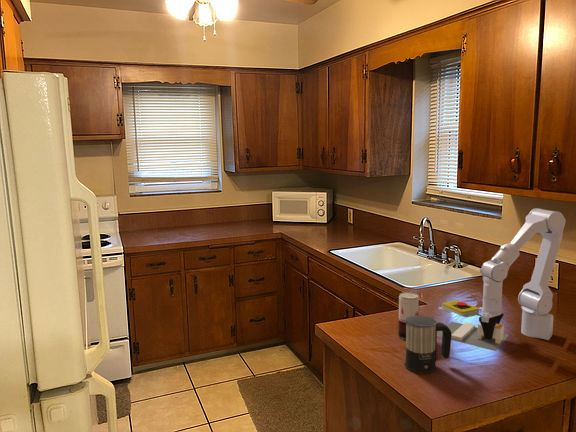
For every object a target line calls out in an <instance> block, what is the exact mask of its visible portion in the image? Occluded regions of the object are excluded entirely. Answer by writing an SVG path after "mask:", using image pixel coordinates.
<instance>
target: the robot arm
mask: <svg viewBox="0 0 576 432" xmlns="http://www.w3.org/2000/svg"><path fill="white" fill-rule="evenodd" d="M566 222H567V220H566V218H565V217H564V215H563V214H562V212H560V211H556V210H555V211H554V210H547V209H543V208H538V207H536V208H533V209H531V210H530V212H529V213H528V214H527V215H526V216H525V222H524V224H523V225H522V226H521V228H520V229H519V230H518V231H517V233H516V235H515V236H514V237H513V239H512V240H511V241H510V242H509V243H505V244H503V245H501V246H500V247H499V249H498V251H497V252H496V253H495V254H494V255H493V256H492V258H491V259H490V260H488V261H485V262H483V264H481V265H482V266H481V268H480V269H479V272H480V274H481V276H482V281H483V288H482V289H483V291H482V292H483V293H482V306H480V307H478V308H479V312H481V313H482V314H481V315H482V316H479V317H478V322H479V323H481V325H482V328H483V333H484V337H485V338H486V339H490V340H491V339H492V337H493V332H494V328H495V325H496V324H500V323H501V321H502V319H503V317H504V313H503V311H502V305H503V304H502V302H503V299H502V298H503V281H504V280H505V279H507V277H508V273H509V272H508V271H509V270H510V267H511V265H513V263H514V262H515V261H516V260H517V259H518V257H520V255H521V254H520V250H521V249H522V248H523V247H524V246H525V245H526V244H527V242H528V241H530V240H531V239H532V238H533V236H535V235H536V234H540V235H541V237H542V240H541V244H540V248H539V251H538V254H537V257H536V261H535V263H534V265H535V266H534V268H533V271H532V274H531V279H530V281H529V282H526V283H525V284H523V286H522V289H521V291H519V294H518V297H517V302H518V304H519V305H520V309H521V310H522V313H521V329H520V333H521V334H523V335H524V336H526V337H530V338H537V339H542V340H546V341H550V339H551V338H552V336H553V334H554V333H553V329H554V315H553V314H552V313H550V312H551V310H552V308H553V297H554V293H553V292H552V290H551V288H549V284H550V280H551V278H552V274H553V270H554V268H555V264H556V260H557V258H558V254H559V251H560V246H561V244H562V240H563V234H564V229H565V225H566Z"/></svg>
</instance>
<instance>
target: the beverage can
mask: <svg viewBox="0 0 576 432" xmlns="http://www.w3.org/2000/svg"><path fill="white" fill-rule="evenodd" d="M419 299H420V298H419V295H418V294H417V293H415V292H407V291H405V292H401V293H399V296H398V330H397V331H398V332H397V333H398V337H399V338H401V339H402V340H406V322H405V319H406V318H407V317H409V316H414V315H419V306H420V305H419Z"/></svg>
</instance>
